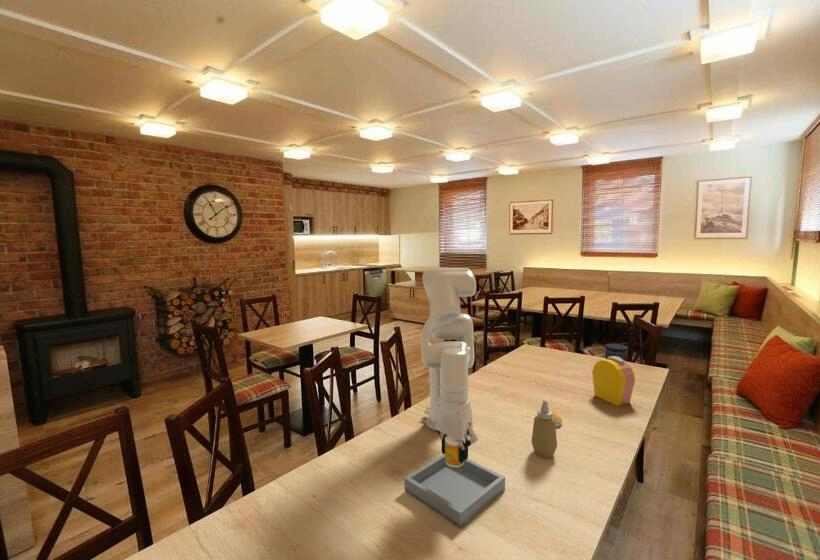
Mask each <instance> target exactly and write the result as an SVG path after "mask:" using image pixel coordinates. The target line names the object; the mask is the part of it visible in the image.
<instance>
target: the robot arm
mask: <svg viewBox="0 0 820 560" xmlns="http://www.w3.org/2000/svg"><path fill="white" fill-rule="evenodd" d="M422 285H423V287H424V288H423V289H424V291H425V293H426V295H427V298H428V301H429V302H428V303H429V317H428V319H427V320H426V321H425V322H424V324H423V328H422V330H421V335H420V343H421V345H420V346H421V348H420V349H421V350H420V354H421V361H422V364H423V365H424V366H425V367H426V368H428V372H429V405H430V406H428V405H427V406H426V407H425V409H424V411H423V412H424V414H426V415H427V416H428V417H427V419H426V421H425V423H426V427H427V428H428V429H430V430H432V431H435V432H437V433H438V435H439V439H440V440H441V453H442V454H441V455H443V454H445V437H446V436H447V435H448V436H450V437H452V438H455V439H457V440H459V443H460V447H461V448H459V462H460V463H462V462H464V461H465V460H467V459H469V447H470V446H472V445H473V444H475V443H476V442H479V440H478V439H479V438H478V437H477V434H476V432H475V431H474V429H473V428H474V427H473V426H474V425H473V414H472V413H473V412H472V407H471V406H472V405H471V401H470V400H469V368H472V367H473V366H474V362H475V338H474V335H475V334H474V323H473V320H472V317H471V316H470V315H469V314H468V313H462V312H461V310H462V309H461V304H460V297H462V298H463V297H473V296H474V295H475V294H476V291H477V281H476V277H475V274H474V273H473V271H472V270H470V268H469V267H468V268H467V267H434V268H428V269H426V270H424V272H423V273H422ZM431 337H433V339H436V340H438V341H431ZM441 340H444V341H441ZM445 340H454V341H445ZM455 340H456V341H455ZM463 440H464V441H463Z"/></svg>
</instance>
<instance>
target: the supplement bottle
mask: <svg viewBox="0 0 820 560" xmlns="http://www.w3.org/2000/svg"><path fill="white" fill-rule="evenodd" d="M463 441H464V442H465V440H463ZM459 448H461V447H460V443H459V440H457V439H455V438H452V437H450V436H448V435H447V436H446V437H445V463H446V464H447V465H448V466H450V467H460V466H462V465H463V464H464V462H462V463H460V462H459Z"/></svg>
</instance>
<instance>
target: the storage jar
mask: <svg viewBox="0 0 820 560" xmlns="http://www.w3.org/2000/svg"><path fill="white" fill-rule="evenodd" d="M604 355H605V360H606V359H607V357H611V356H616V357H620V358H621V359H623V360H624V361H626V362H627V359H628V346H627V345H624V344H621V343H613V342H611V343H606V344H605V354H604Z"/></svg>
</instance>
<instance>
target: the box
mask: <svg viewBox="0 0 820 560" xmlns="http://www.w3.org/2000/svg"><path fill="white" fill-rule="evenodd" d="M405 491H406V493H407V494H408V493H409V495H410V496H412V497H413V498H414V499H416V500H417V501H418V502H419V501H420V503H422V504H424V505H425V506H427V507H428V508H430V509H431V510H432V511H434V512H435V513H437V514H439V515H440V516H441V517H443V518H444V519H446V520H448V521H449V522H450V523H452V524H453V525H455V526H457V528H459V529H461V528H463V527H464V526H466V525H467V524H468V522H470V521H471V520H472V519H473V518H474V517H476V516H477V515H478V514H479V513H480V512H482V511H483V510H484V509H485V508H486V507H487V506H488V505H489V504H491V503H492V502H493V501H494V500H495V499H497V498H498V497H499V496H500V495H501V494H503V492H504V493H505V491H506V477H505V476H504V475H502V474H500V473H498V472H496V471H494V470H492V469H489V468H487V467H486V466H484V465H481V464H479V463H477V462H475V461H474V460H472V459H470V458H468V459H467V460H465V461H464V464H463V465H462V466H460V467H450V466H448V465H447V464H446V463H445V454H441V455H439V456H438V457H437V458H435V459H433V460H432V461H430V462H427V463H426V464H425V465H424V466H422V467H420V468H419V469H417V470H416V471H414V472H412V473H410V474H408V475H407V476H405V477H404V492H405Z"/></svg>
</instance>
